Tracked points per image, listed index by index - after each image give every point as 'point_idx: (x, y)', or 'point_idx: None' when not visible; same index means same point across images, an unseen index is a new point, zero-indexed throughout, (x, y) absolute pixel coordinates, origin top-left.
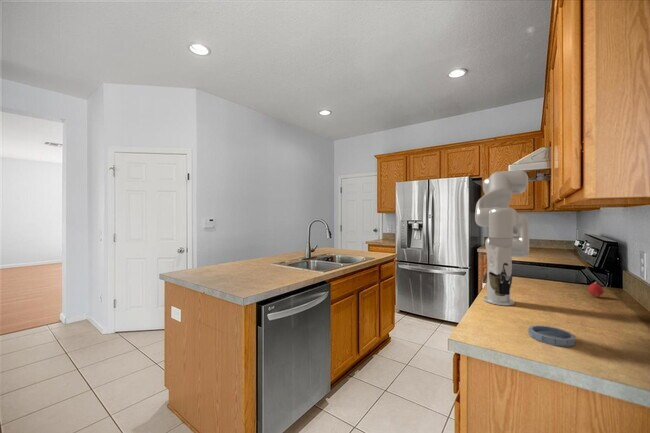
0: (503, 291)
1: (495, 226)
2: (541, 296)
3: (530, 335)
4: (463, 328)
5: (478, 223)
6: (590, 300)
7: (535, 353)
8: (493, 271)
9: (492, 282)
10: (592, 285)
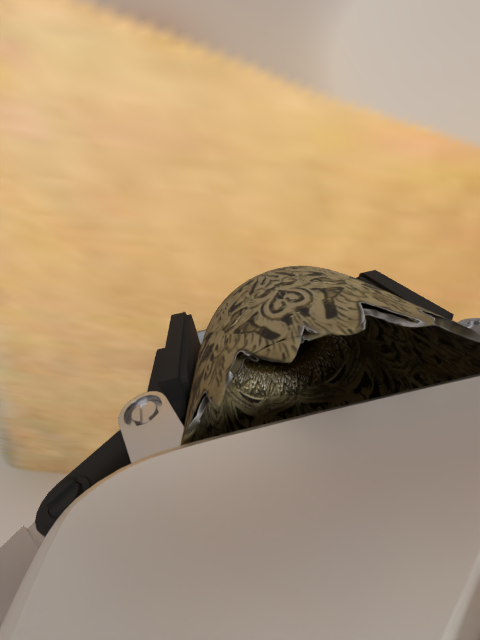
0: (159, 356)
1: None
2: None
3: (202, 332)
4: (143, 48)
5: None
6: None
7: (45, 328)
8: (263, 469)
9: (237, 305)
10: None
